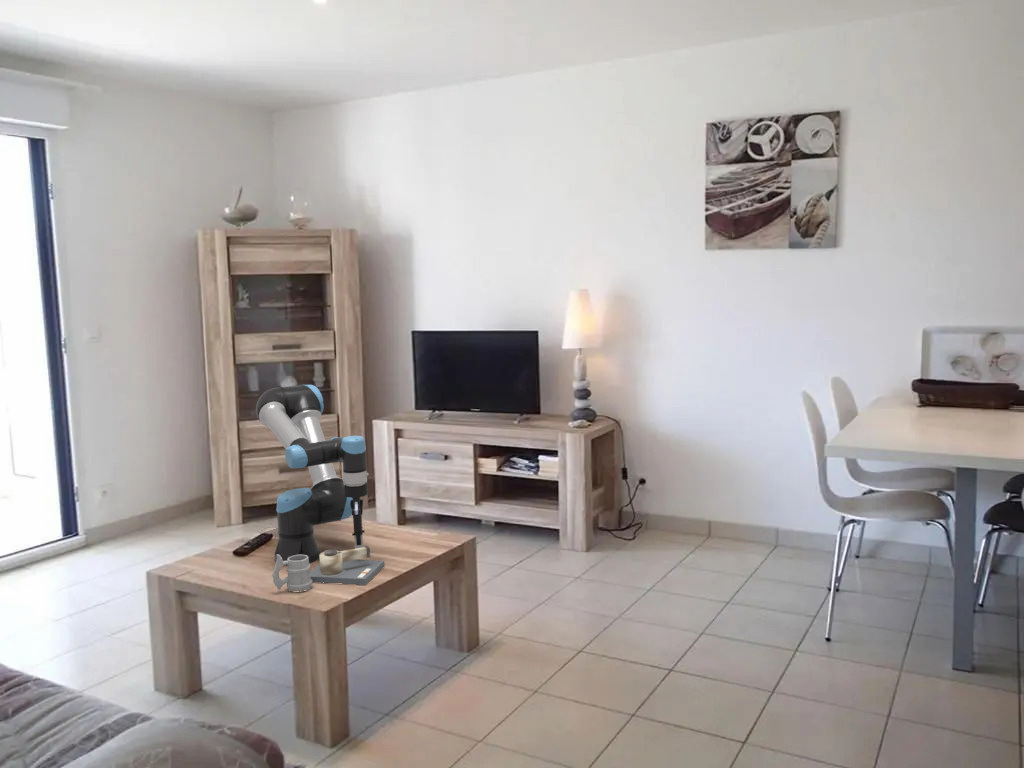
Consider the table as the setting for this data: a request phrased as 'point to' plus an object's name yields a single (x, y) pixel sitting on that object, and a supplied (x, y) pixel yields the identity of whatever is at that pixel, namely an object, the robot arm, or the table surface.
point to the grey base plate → (350, 572)
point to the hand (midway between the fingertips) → (359, 553)
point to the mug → (293, 573)
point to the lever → (340, 559)
